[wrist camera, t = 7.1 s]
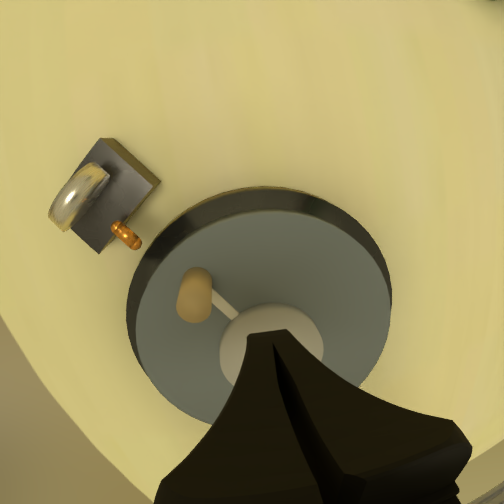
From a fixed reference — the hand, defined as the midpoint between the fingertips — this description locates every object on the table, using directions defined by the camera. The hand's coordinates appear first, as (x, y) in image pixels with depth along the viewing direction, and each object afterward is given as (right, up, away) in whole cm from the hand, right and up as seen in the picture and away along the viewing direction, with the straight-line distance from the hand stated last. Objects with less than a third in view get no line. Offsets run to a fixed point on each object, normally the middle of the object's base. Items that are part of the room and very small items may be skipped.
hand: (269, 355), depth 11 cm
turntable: (0, -2, +10) cm, 10 cm away
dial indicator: (-9, +7, +8) cm, 14 cm away
